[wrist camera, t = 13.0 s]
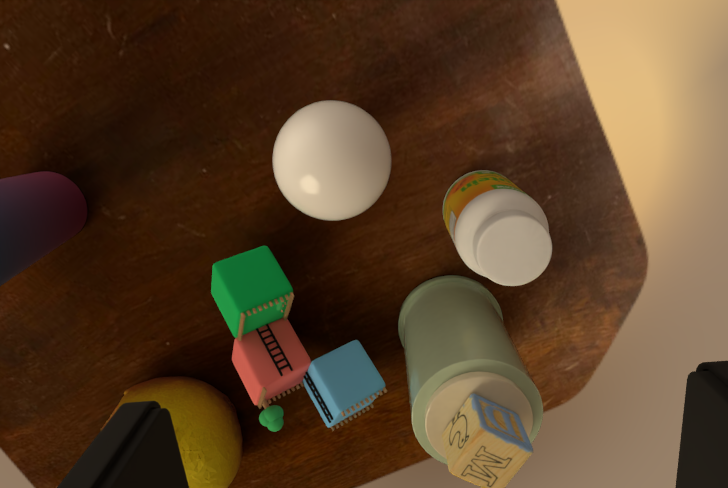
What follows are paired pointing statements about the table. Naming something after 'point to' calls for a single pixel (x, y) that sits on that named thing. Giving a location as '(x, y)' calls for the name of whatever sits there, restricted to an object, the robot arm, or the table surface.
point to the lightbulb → (331, 160)
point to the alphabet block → (486, 443)
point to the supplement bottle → (497, 228)
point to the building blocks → (285, 345)
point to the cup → (36, 218)
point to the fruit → (197, 427)
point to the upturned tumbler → (460, 358)
